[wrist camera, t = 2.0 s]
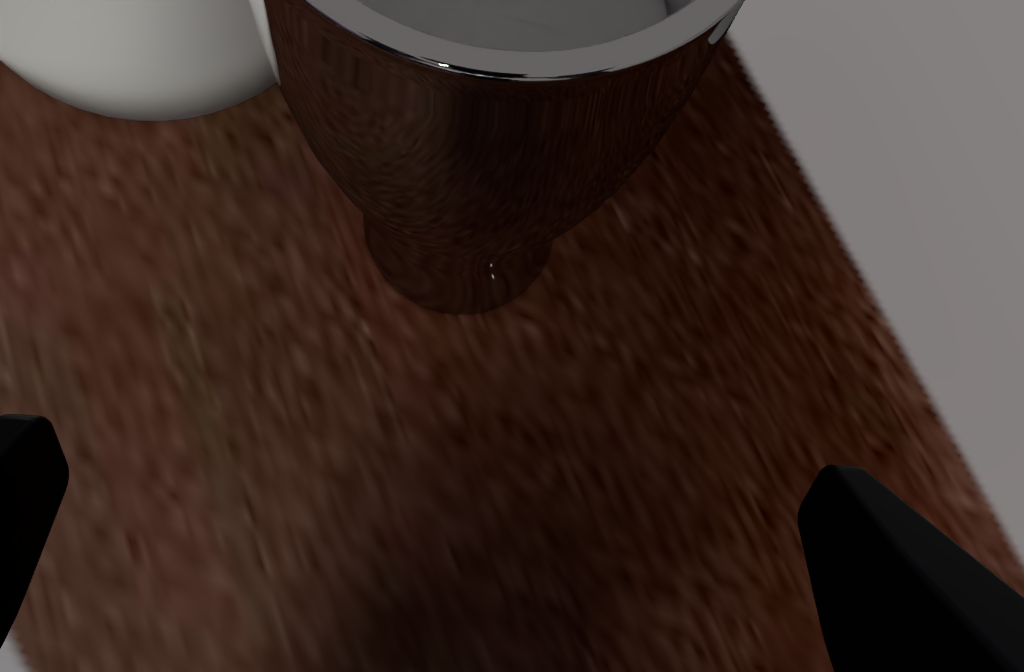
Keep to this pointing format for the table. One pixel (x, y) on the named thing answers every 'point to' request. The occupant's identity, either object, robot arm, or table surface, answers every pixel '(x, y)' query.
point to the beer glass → (483, 121)
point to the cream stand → (137, 54)
